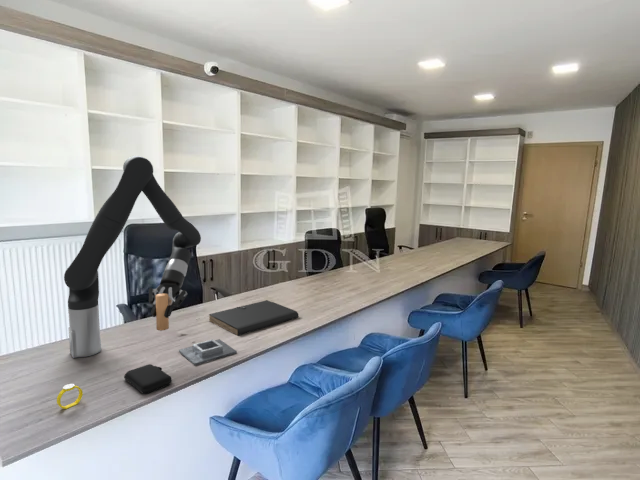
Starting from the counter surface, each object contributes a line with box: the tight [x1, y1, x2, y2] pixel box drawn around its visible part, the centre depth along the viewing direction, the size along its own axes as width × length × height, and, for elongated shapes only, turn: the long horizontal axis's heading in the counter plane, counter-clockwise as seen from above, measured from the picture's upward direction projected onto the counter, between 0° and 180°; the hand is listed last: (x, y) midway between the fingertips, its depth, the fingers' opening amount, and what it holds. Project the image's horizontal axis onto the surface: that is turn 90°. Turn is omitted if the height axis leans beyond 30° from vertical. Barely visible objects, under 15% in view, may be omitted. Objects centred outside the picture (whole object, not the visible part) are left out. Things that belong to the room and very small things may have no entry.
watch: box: [56, 383, 84, 410], centre depth 104 cm, size 6×3×6 cm, turn 148°
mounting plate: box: [178, 338, 238, 366], centre depth 140 cm, size 16×14×3 cm
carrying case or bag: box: [123, 364, 173, 395], centre depth 119 cm, size 11×3×15 cm
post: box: [155, 293, 170, 331], centre depth 133 cm, size 4×4×12 cm
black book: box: [208, 299, 299, 337], centre depth 176 cm, size 33×4×24 cm
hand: (159, 316), depth 131 cm, fingers closed on post, 4 cm apart
